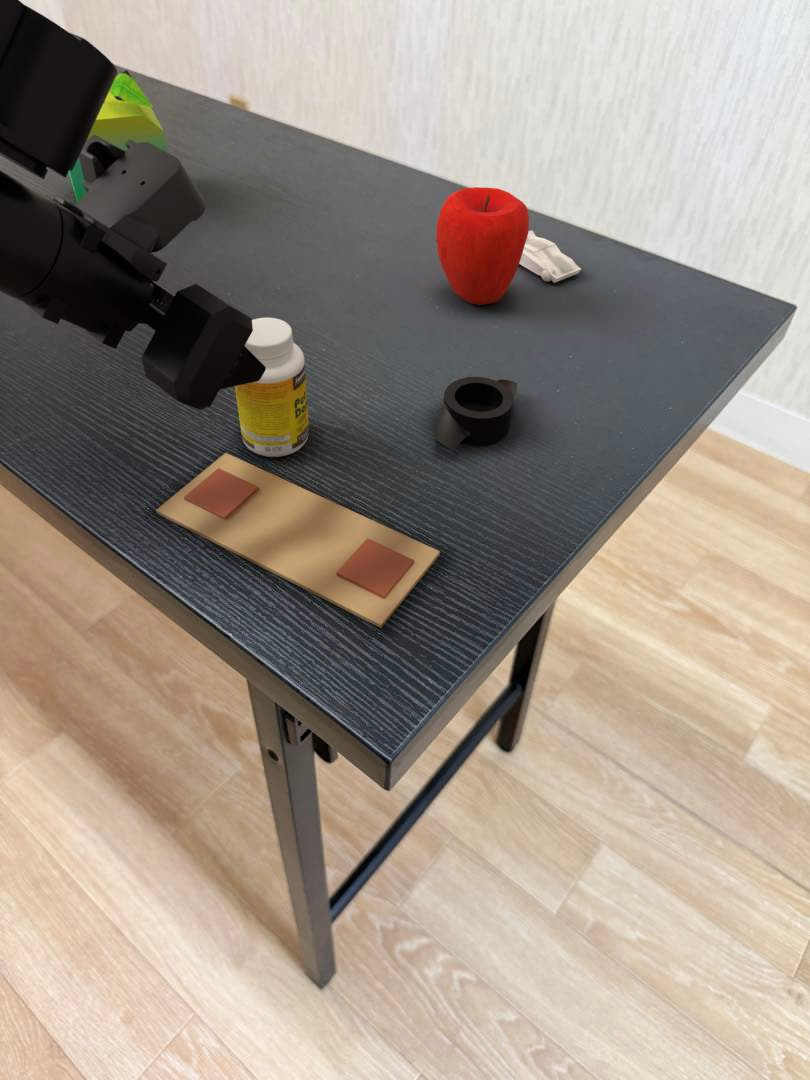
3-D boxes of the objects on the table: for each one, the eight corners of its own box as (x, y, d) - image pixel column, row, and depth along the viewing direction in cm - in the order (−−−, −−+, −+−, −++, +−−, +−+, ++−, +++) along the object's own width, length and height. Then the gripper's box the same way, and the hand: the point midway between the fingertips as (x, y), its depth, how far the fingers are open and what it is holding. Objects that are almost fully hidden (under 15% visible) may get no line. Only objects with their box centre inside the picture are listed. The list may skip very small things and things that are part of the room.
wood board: (156, 513, 61) (155, 507, 60) (226, 456, 65) (225, 449, 65) (381, 628, 54) (381, 622, 53) (439, 554, 59) (440, 548, 58)
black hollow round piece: (548, 439, 68) (553, 411, 66) (440, 465, 65) (442, 437, 63) (506, 388, 73) (510, 361, 71) (404, 410, 70) (406, 382, 68)
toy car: (531, 247, 92) (534, 228, 91) (582, 276, 88) (586, 256, 86) (501, 258, 90) (504, 239, 89) (552, 288, 86) (555, 268, 84)
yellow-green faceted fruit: (83, 223, 93) (45, 80, 82) (72, 189, 99) (36, 51, 88) (177, 210, 96) (153, 70, 85) (161, 178, 102) (137, 44, 91)
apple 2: (418, 303, 83) (423, 198, 75) (457, 268, 88) (466, 167, 81) (495, 328, 80) (509, 222, 72) (531, 292, 85) (548, 189, 78)
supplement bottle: (307, 461, 65) (300, 352, 58) (238, 460, 65) (222, 351, 58) (311, 418, 69) (305, 311, 62) (246, 417, 69) (232, 310, 62)
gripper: (198, 165, 38) (369, 296, 52) (13, 67, 47) (200, 200, 61) (90, 369, 40) (282, 444, 54) (-69, 237, 49) (131, 330, 62)
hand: (221, 345), depth 58 cm, fingers open, 9 cm apart
